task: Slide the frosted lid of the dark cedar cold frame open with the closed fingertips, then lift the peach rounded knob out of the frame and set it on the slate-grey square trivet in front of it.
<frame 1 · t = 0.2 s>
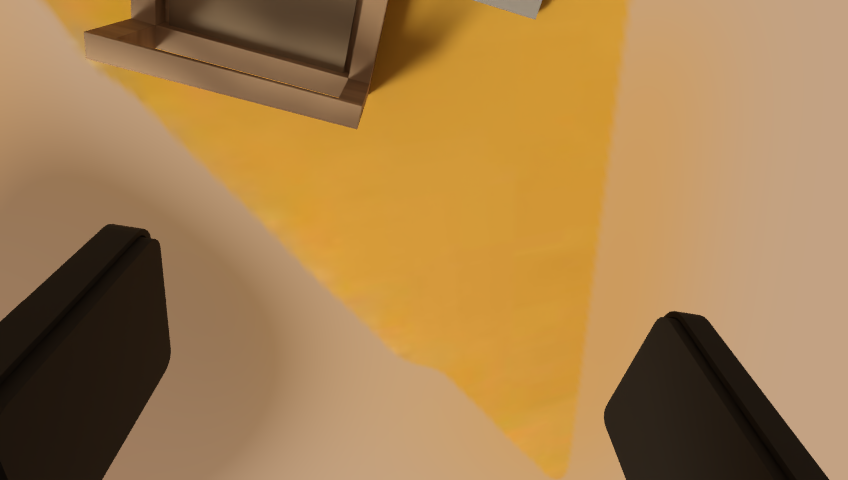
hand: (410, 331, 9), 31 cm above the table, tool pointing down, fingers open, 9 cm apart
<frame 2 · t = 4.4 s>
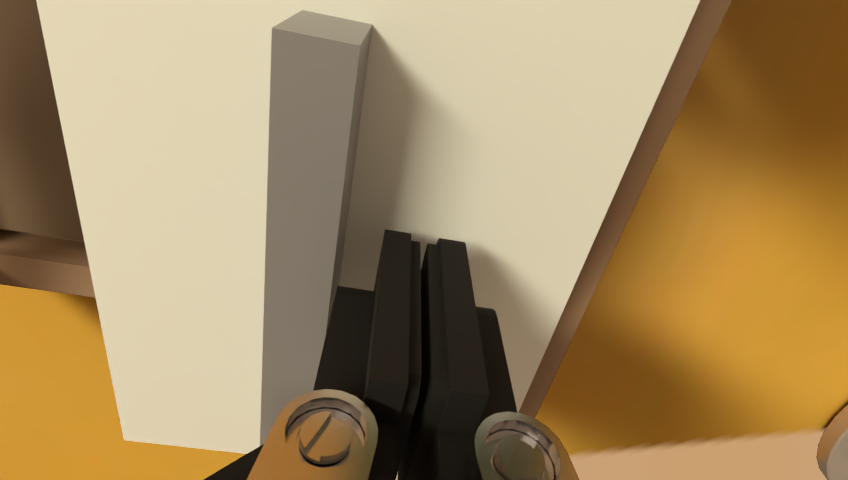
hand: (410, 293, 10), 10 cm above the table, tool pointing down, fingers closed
cold frame: (252, 108, 18), on the table
lid: (332, 278, 10), point 9 cm above the table, slide at 1.1 cm, touching gripper
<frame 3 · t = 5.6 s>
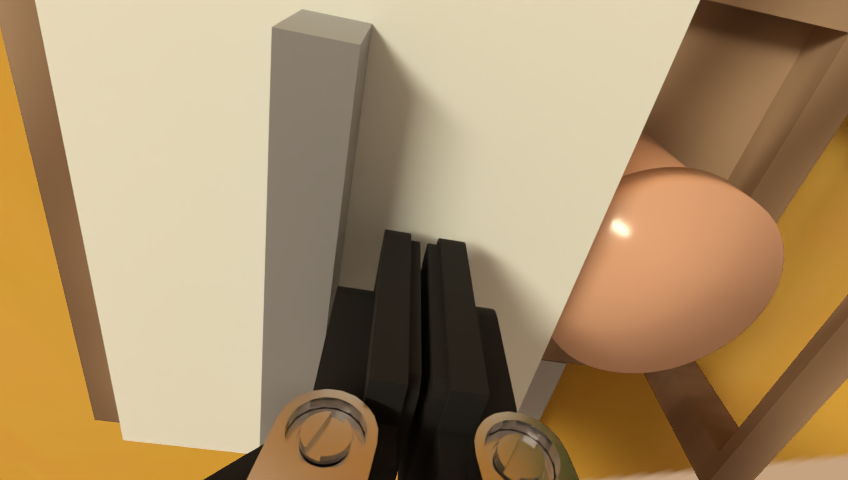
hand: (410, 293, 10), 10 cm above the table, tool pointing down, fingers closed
peach rounded knob: (582, 177, 18), point 1 cm above the table, touching cold frame
trivet: (450, 391, 26), on the table
cold frame: (477, 149, 19), on the table
lid: (332, 277, 10), point 10 cm above the table, slide at 9.7 cm, touching gripper
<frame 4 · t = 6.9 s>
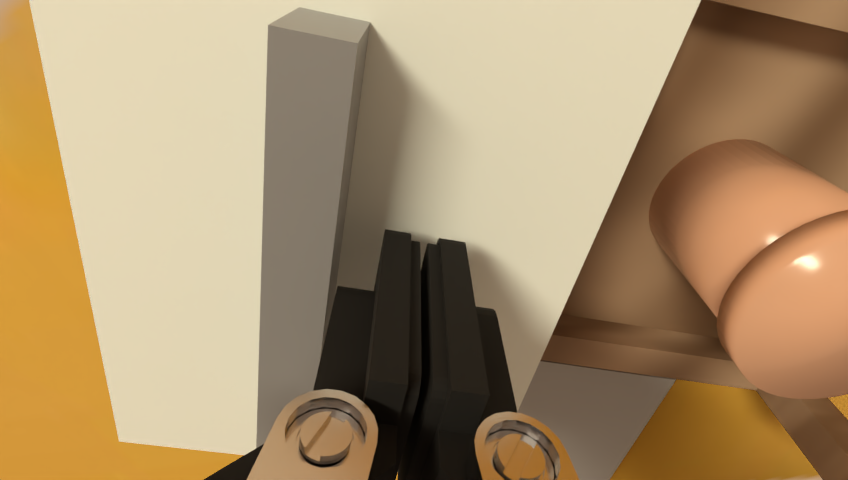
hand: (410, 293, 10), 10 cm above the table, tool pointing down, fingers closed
peach rounded knob: (716, 203, 19), point 1 cm above the table, touching cold frame
trivet: (549, 405, 27), on the table
cold frame: (612, 174, 19), on the table
lid: (330, 278, 10), point 9 cm above the table, slide at 15.2 cm
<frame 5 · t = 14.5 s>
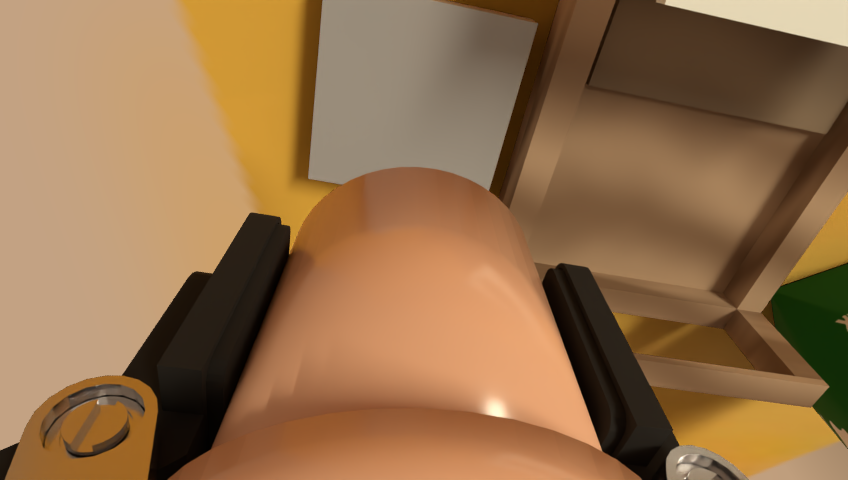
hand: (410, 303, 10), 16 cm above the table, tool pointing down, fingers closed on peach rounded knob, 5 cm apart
milk carton: (830, 306, 31), on the table
peach rounded knob: (411, 276, 11), point 15 cm above the table, touching gripper
trivet: (414, 98, 24), on the table
cold frame: (689, 110, 24), on the table
when the fingers open (3 cm above the table, at t = 17.4 s): peach rounded knob stays where it is, resting on trivet.
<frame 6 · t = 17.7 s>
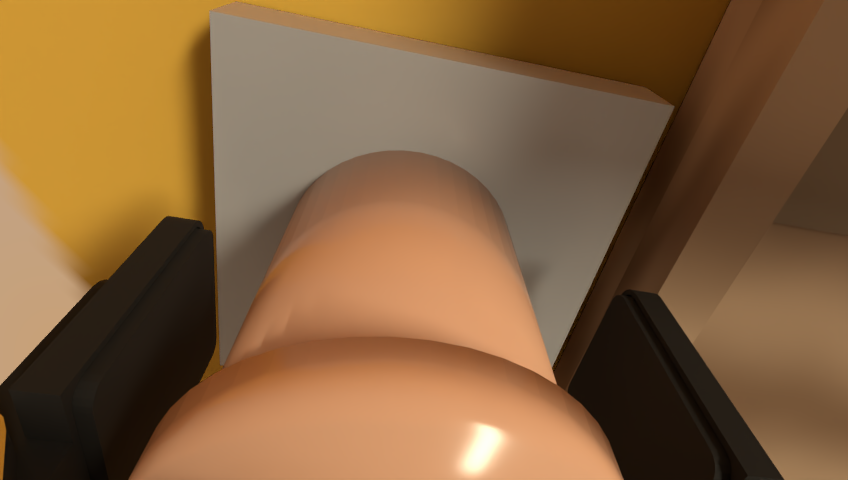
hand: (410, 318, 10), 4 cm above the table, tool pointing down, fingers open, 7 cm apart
peach rounded knob: (399, 254, 11), point 1 cm above the table, touching trivet
trivet: (412, 224, 13), on the table
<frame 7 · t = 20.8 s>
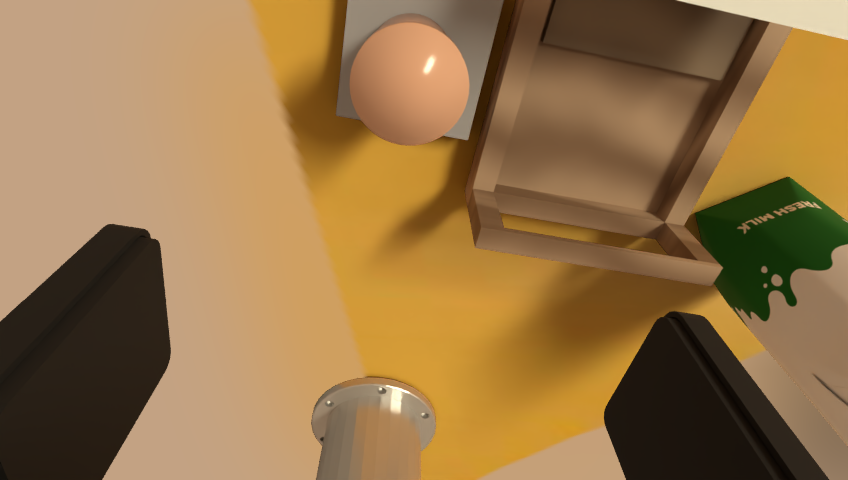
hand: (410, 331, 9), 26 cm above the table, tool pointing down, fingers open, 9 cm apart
milk carton: (745, 228, 39), on the table
peach rounded knob: (410, 58, 30), point 2 cm above the table, touching trivet
trivet: (415, 54, 32), on the table
cold frame: (621, 64, 32), on the table
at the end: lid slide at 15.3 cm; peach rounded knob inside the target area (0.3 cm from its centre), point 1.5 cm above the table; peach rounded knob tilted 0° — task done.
